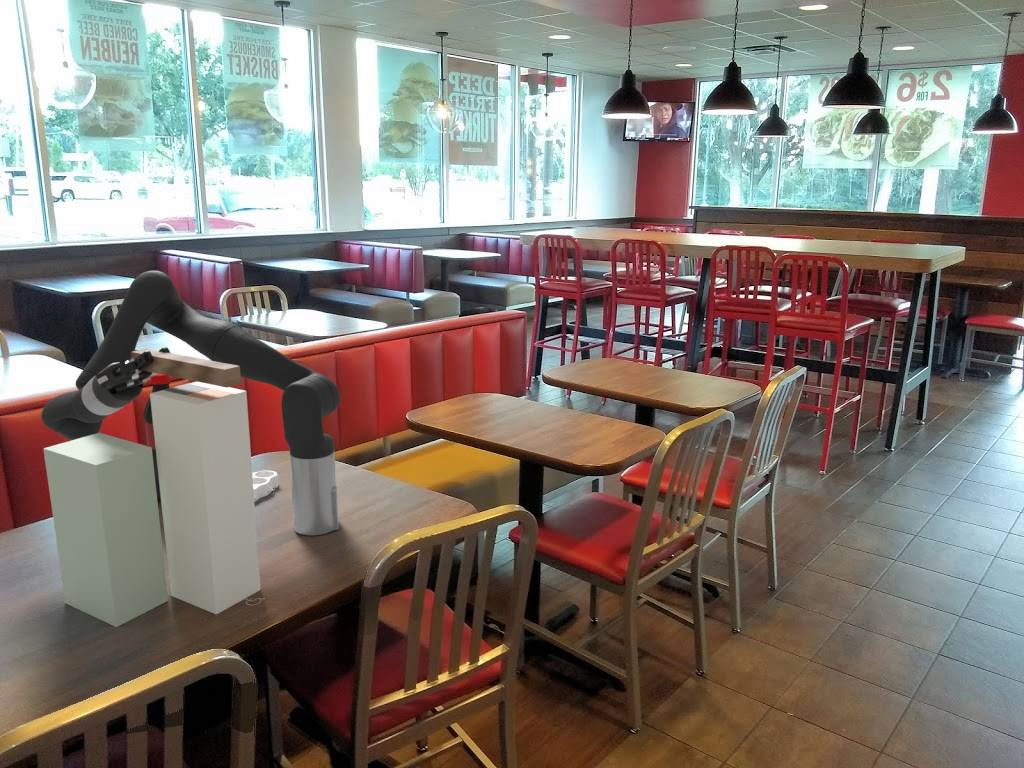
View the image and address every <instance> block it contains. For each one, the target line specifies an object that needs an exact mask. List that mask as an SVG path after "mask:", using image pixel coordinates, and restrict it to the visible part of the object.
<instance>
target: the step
mask: <svg viewBox="0 0 1024 768" xmlns="http://www.w3.org/2000/svg"><path fill="white" fill-rule="evenodd" d="M42 451H43V454H44V463H45V469H46V478H47V483H48V491H49V498H50V503H51V513H52V519H53V526H54V533H55V539H56V546H57V547H56V548H57V555H58V560H59V568H60V575H61V581H62V582H61V583H62V588H63V594H64V601H65V602H64V604H66V605H69V606H71V607H72V608H75V609H77V610H79V611H81V612H83V613H85V614H88V615H90V616H92V617H94V618H96V619H97V620H100V621H102V622H104V623H107V624H109V625H111V626H113V627H115V628H118V627H119V626H122V625H124V624H126V623H127V622H129V621H131V620H134V619H136V618H137V617H139V616H141V615H143V614H145V613H148V612H150V611H151V610H153V609H155V608H156V607H159V606H161V605H163V604H165V603H166V602H168V601H169V599H168V589H167V580H166V579H167V578H166V572H165V561H164V559H165V558H164V553H163V551H164V550H163V541H162V533H161V532H162V531H161V523H160V513H159V506H158V505H159V504H158V499H157V493H156V484H155V474H154V465H153V455H152V447H148V446H147V445H145V444H140V443H137V442H133V441H129V440H127V439H123V438H119V437H116V436H112V435H108V434H106V433H102V432H98V433H97V434H93V435H89V436H86V437H82V438H79V439H75V440H72V441H71V440H69V441H65V442H62V443H58V444H55V445H51V446H47V447H44V448H43V450H42Z"/></svg>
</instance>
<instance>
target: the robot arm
mask: <svg viewBox="0 0 1024 768" xmlns="http://www.w3.org/2000/svg"><path fill="white" fill-rule="evenodd" d="M178 292H179V291H178V290H177V288H176V286H175V283H174V282H173V280H172V279H171V277H170V276H169V275H168V274H166V273H165V272H163V271H159V270H148V271H144V272H142V273H140V274H139V275H137V276H136V277H135V278H134V279H133V280H132V281H131V284H130V286H129V287H128V290H126V293H125V296H124V298H123V300H122V302H121V304H120V306H119V309H118V311H117V313H116V315H115V317H114V319H113V321H112V323H111V325H110V327H109V329H108V330H107V333H106V334H105V336H104V337H103V339H102V342H101V343H100V344H99V346H98V348H97V349H96V351H95V352H94V354H93V355H92V357H91V358H90V360H89V361H88V362H87V364H86V365H85V367H84V368H83V370H82V371H81V373H80V374H79V375H78V377H77V378H76V380H75V387H76V388H77V390H73V391H67V392H65V393H62V394H59V395H57V396H55V397H53V398H51V399H50V400H48V402H47V403H46V404H45V405H44V406H43V408H42V411H41V415H40V418H41V421H42V423H43V425H44V426H45V427H47V429H50V430H52V431H53V432H55V433H57V434H58V435H60V436H62V437H64V438H66V439H68V440H69V441H72V440H75V439H79V438H82V437H86V436H89V435H93V434H97V433H100V430H101V427H102V425H103V422H104V420H105V419H107V418H108V417H109V416H111V415H112V414H114V413H116V412H118V411H120V410H122V409H123V408H124V407H126V406H127V405H129V404H130V403H131V402H133V401H134V400H135V399H137V398H138V397H139V396H140V395H141V394H142V391H143V388H144V384H145V383H147V382H148V381H149V379H151V377H152V376H154V375H156V374H157V373H153V372H148V371H143V369H145V368H146V367H147V366H149V365H150V364H151V363H153V358H152V354H151V352H150V351H145V352H143V353H142V354H141V355H139V356H138V357H137V358H133V359H132V356H131V352H132V351H136V347H137V345H138V342H139V338H140V336H141V333H142V331H143V329H144V327H145V326H146V324H149V325H151V326H152V327H155V328H157V330H161V331H162V332H165V333H167V334H169V335H172V336H174V337H175V338H177V339H179V340H180V341H182V342H184V343H186V344H187V345H188V346H190V347H191V348H193V349H194V350H195V351H197V352H198V353H200V354H201V355H202V356H205V357H206V358H207V359H209V360H210V361H215V362H221V363H226V364H232V365H237V366H240V376H241V378H243V379H247V380H250V381H255V382H259V383H261V384H262V383H263V384H267V385H269V386H273V387H275V388H278V389H280V390H282V391H283V392H282V395H281V403H280V404H281V405H280V406H281V416H282V424H283V433H284V439H285V442H286V444H287V446H288V448H289V461H290V462H289V464H290V479H291V480H290V482H291V497H292V499H291V500H292V515H293V517H292V519H293V529H294V530H293V531H295V533H297V534H300V535H301V536H302V535H303V536H321V535H325V534H328V533H329V534H330V532H334V531H339V509H338V506H339V505H338V504H339V503H338V489H337V488H338V487H337V482H336V481H337V479H336V478H337V475H336V455H335V454H336V452H335V450H336V449H335V440H334V437H332V436H331V435H330V434H327V433H324V426H323V425H324V424H323V419H324V418H326V417H328V416H330V415H331V414H333V413H334V412H335V411H336V410H337V409H338V407H339V406H340V403H341V395H340V394H341V393H340V391H339V389H338V387H337V385H336V383H334V382H333V381H332V379H330V378H329V377H327V376H326V375H324V374H322V373H321V372H318V371H316V370H314V369H313V368H310V367H308V366H306V365H303V364H302V363H299V362H297V361H296V360H293V359H291V358H289V357H288V356H286V355H285V354H283V353H282V352H280V351H278V350H277V349H275V348H274V347H272V346H270V345H269V344H267V343H266V342H263V341H262V340H260V339H259V338H257V337H256V336H254V335H253V334H251V333H250V332H249V331H247V330H245V329H243V327H240V326H239V325H237V324H235V323H233V322H230V321H227V320H223V319H218V318H217V319H216V318H211V317H207V316H205V315H204V314H201V313H199V311H197V310H196V309H194V308H192V307H191V306H190V305H189V304H187V303H186V302H185V301H184V300H182V298H181V296H180V295H179V293H178ZM158 351H160V352H166V353H171V351H170V349H169V347H167V346H165V347H164V346H163V347H161V348H160V349H159V350H158ZM161 375H162V374H161Z"/></svg>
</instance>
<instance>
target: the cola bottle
mask: <svg viewBox="0 0 1024 768" xmlns="http://www.w3.org/2000/svg"><path fill="white" fill-rule="evenodd" d="M170 384H171V376H168V375H163V374H162V375H161V374H158V373H157V374H156V375H154V376H152V377H151V378H150V385H151V386H152V389H151V393H154V392H158V391H162V390H164V389H168V388H171V387H170ZM142 415H143V420H144V424H145V425H144V426H145V435H146V444H147V445H146V446H148V447H152V455H153V465H154V474H155V484H156V493H157V500H160V501H161V495H160V485H159V476H158V466H157V457H156V447H155V438H154V428H153V419H152V409H151V399H150V397H149V398H148V400H147V402H146V405H145V407H144V410H143V414H142Z"/></svg>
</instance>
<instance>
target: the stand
mask: <svg viewBox="0 0 1024 768" xmlns="http://www.w3.org/2000/svg"><path fill="white" fill-rule="evenodd" d="M149 398H150V399H151V409H152V419H153V428H154V438H155V447H156V457H157V466H158V476H159V485H160V495H161V500H160V503H161V512H162V513H161V514H162V523H163V530H164V531H163V532H164V540H165V541H164V542H165V550H166V551H165V553H166V558H167V559H166V560H167V571H168V579H169V581H168V582H169V589H170V596H171V597H173V598H175V599H178V600H181V601H182V602H183V601H184V602H185V603H188V604H190V605H192V606H195V607H197V608H199V609H203V610H204V611H207V612H209V613H212V614H214V615H218V614H220V613H221V612H223V611H225V610H227V609H229V608H230V607H232V606H235V605H236V604H238V603H240V602H241V601H243V600H245V599H247V598H248V597H250V596H252V595H254V594H256V593H257V592H259V591H260V590H262V588H261V578H260V577H261V576H260V564H259V563H260V561H259V551H258V550H259V548H258V539H257V538H258V536H257V524H256V523H257V522H256V519H257V518H256V507H255V502H254V491H253V477H252V473H253V465H252V453H251V452H252V451H251V437H250V425H249V424H250V423H249V411H248V409H249V408H248V399H247V398H248V397H247V390H244V389H239V388H234V387H227V388H226V387H221V386H216V385H211V384H207V383H202V382H197V381H193V382H190V383H185V384H181V385H176V386H172V387H170V388H168V389H164V390H162V391H158V392H154V393H152V392H151V393H149Z"/></svg>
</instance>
